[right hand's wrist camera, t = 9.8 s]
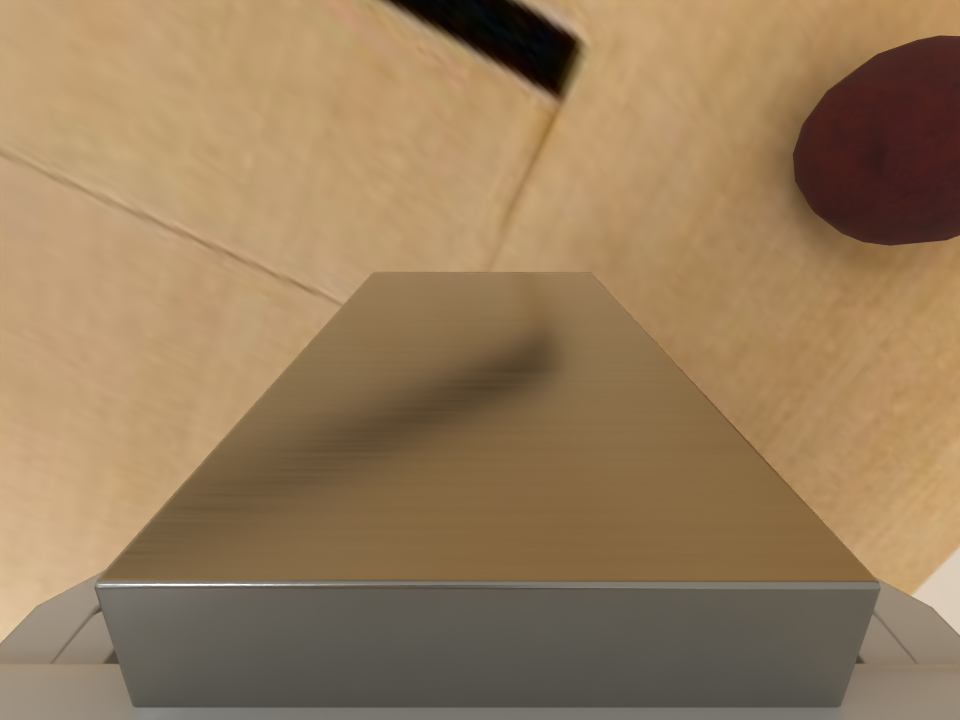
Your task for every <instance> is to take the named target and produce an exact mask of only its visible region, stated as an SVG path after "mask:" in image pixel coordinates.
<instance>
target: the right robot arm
mask: <svg viewBox="0 0 960 720" xmlns="http://www.w3.org/2000/svg"><path fill="white" fill-rule="evenodd" d="M103 572H104V571H103ZM103 572H101V573H99V574H97V575H95V576H93V577H91V578H89V579H88V580H86V581H84V582H82V583H80V584H78V585H76V586H74V587H72V588H71V589H69V590H67V591H65V592H63V593H61V594H59V595H57V596H55V597H53V598H52V599H50V600H48V601H46V602H44V603H42V604H40V605H38V606H36V608H35V609H34V610H33V611H32V612H31V613H30V614H29V615H28V616H27V617H26V618H25V619H24V620H23V621H22V622H21V623H20V624H19V625H18V626H17V627H16V628H15V629H14V630H13V631H12V632H11V633H10V634H9V635H8V636H7V637H6V638H5V639H4V640H3V641H2V642H1V643H0V720H960V635H959V634H958V633H957V632H956V631H955V630H954V629H953V628H952V627H951V626H950V625H949V624H948V623H947V622H946V621H945V620H944V619H943V618H942V617H941V616H940V615H939V614H938V613H937V612H936V611H935V610H934V609H933V608H932V607H931V606H929V605H927V604H925V603H923V602H921V601H919V600H917V599H915V598H913V597H911V596H910V595H908V594H906V593H904V592H902V591H900V590H898V589H896V588H894V587H892V586H890V585H889V584H887V583H885V582H883V581H881V580H879V579H877V578H876V579H877V580H878V582H879V584H880V588H881V590H880V593H879V596H878V599H877V602H876V605H875V608H874V611H873V614H872V616H871V619H870V622H869V625H868V628H867V631H866V634H865V637H864V640H863V643H862V646H861V648H860V651H859V654H858V657H857V660H856V663H855V666H854V669H853V672H852V675H851V677H850V680H849V683H848V686H847V689H846V692H845V695H844V698H843V701H842V704H841V706H839V707H837V708H136V707H134V706H133V705H132V702H131V699H130V696H129V693H128V690H127V687H126V684H125V681H124V678H123V675H122V672H121V669H120V665H119V662H118V659H117V656H116V653H115V650H114V647H113V644H112V641H111V638H110V635H109V632H108V628H107V625H106V622H105V619H104V616H103V613H102V610H101V607H100V604H99V601H98V598H97V595H96V592H95V583H96V580H97V579H98V578H99V577H100V576H101V575H102V574H103Z"/></svg>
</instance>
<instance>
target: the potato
mask: <svg viewBox="0 0 960 720" xmlns="http://www.w3.org/2000/svg"><path fill="white" fill-rule="evenodd" d="M793 158H794V171H795V181H796V183H797V185H798V186H799V188H800V190H801V192H802V193H803V195H804V197H805V199H806V200H807V202H808V204H809V205H810V207H811V208H812V209H813V211H814V212H815V213H816V214H817V215H818V216H820V217H821V218H822V219H824V220H825V221H826V222H828V223H829V224H830V225H832V226H833V227H834V228H836V229H837V230H838V231H840V232H841V233H843V234H845V235H848V236H850V237H852V238H855V239H857V240H860V241H862V242H867V243H875V244H882V245H900V244H911V243H921V242H932V241H942V240H948V239H951V238H953V237H956V236H959V235H960V36H935V37H930V38H925V39H920V40H916V41H913V42H910V43H908V44H905V45H902V46H899V47H896V48H894V49H891V50H888V51H885V52H882V53H879V54H877V55H876V56H874V57H873V58H871V59H870V60H868V61H867V62H866V63H864V64H863V65H861V66H860V67H859V68H857V69H856V70H855V71H853V72H852V73H851V74H849V75H848V76H847V77H845V78H844V79H843V80H841V81H840V82H839V83H837V84H836V85H835V86H833V87H832V88H831V89H829V90H828V91H827V92H826V94H825V95H824V96H823V98H822V99H821V100H820V102H819V103H818V104H817V106H816V107H815V109H814V110H813V111H812V113H811V114H810V115H809V117H808V118H807V119H806V121H805V122H804V124H803V126H802V128H801V131H800V135H799V138H798V141H797V144H796V147H795V150H794V153H793Z"/></svg>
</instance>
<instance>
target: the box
mask: <svg viewBox="0 0 960 720" xmlns="http://www.w3.org/2000/svg"><path fill="white" fill-rule="evenodd" d="M880 590H881V588H880V584H879V582H878V580H877V579H876V578H875V577H874V576H873V575H872V574H871V573H870V572H869V571H868V570H867V569H866V568H865V566H864V565H863V564H862V563H861V562H860V561H859V560H858V559H857V558H856V557H855V556H854V555H853V554H852V553H851V551H850V550H849V549H848V548H847V547H846V546H845V545H844V544H843V543H842V542H841V541H840V540H839V539H838V537H837V536H836V535H835V534H834V533H833V532H832V531H831V530H830V529H829V528H828V527H827V526H826V525H825V524H824V522H823V521H822V520H821V519H820V518H819V517H818V516H817V515H816V514H815V513H814V512H813V511H812V510H811V508H810V507H809V506H808V505H807V504H806V503H805V502H804V501H803V500H802V499H801V498H800V497H799V496H798V495H797V493H796V492H795V491H794V490H793V489H792V488H791V487H790V486H789V485H788V484H787V483H786V482H785V481H784V479H783V478H782V477H781V476H780V475H779V474H778V473H777V472H776V471H775V470H774V469H773V468H772V467H771V466H770V464H769V463H768V462H767V461H766V460H765V459H764V458H763V457H762V456H761V455H760V454H759V453H758V452H757V450H756V449H755V448H754V447H753V446H752V445H751V444H750V443H749V442H748V441H747V440H746V439H745V438H744V437H743V435H742V434H741V433H740V432H739V431H738V430H737V429H736V428H735V427H734V426H733V425H732V424H731V423H730V421H729V420H728V419H727V418H726V417H725V416H724V415H723V414H722V413H721V412H720V411H719V410H718V409H717V407H716V406H715V405H714V404H713V403H712V402H711V401H710V400H709V399H708V398H707V397H706V396H705V395H704V394H703V392H702V391H701V390H700V389H699V388H698V387H697V386H696V385H695V384H694V383H693V382H692V381H691V380H690V378H689V377H688V376H687V375H686V374H685V373H684V372H683V371H682V370H681V369H680V368H679V367H678V366H677V365H676V363H675V362H674V361H673V360H672V359H671V358H670V357H669V356H668V355H667V354H666V353H665V352H664V351H663V349H662V348H661V347H660V346H659V345H658V344H657V343H656V342H655V341H654V340H653V339H652V338H651V337H650V336H649V334H648V333H647V332H646V331H645V330H644V329H643V328H642V327H641V326H640V325H639V324H638V323H637V322H636V320H635V319H634V318H633V317H632V316H631V315H630V314H629V313H628V312H627V311H626V310H625V309H624V308H623V307H622V305H621V304H620V303H619V302H618V301H617V300H616V299H615V298H614V297H613V296H612V295H611V294H610V293H609V291H608V290H607V289H606V288H605V287H604V286H603V285H602V284H601V283H600V282H599V281H598V280H597V279H596V277H595V276H594V275H593V274H592V273H590V272H373V273H372V274H371V275H370V276H369V277H368V279H367V280H366V281H365V282H364V283H363V284H362V285H361V286H360V287H359V289H358V290H357V291H356V292H355V293H354V294H353V295H352V296H351V297H350V299H349V300H348V301H347V302H346V303H345V304H344V305H343V306H342V307H341V309H340V310H339V311H338V312H337V313H336V314H335V315H334V316H333V317H332V319H331V320H330V321H329V322H328V323H327V324H326V325H325V326H324V328H323V329H322V330H321V331H320V332H319V333H318V334H317V335H316V336H315V338H314V339H313V340H312V341H311V342H310V343H309V344H308V345H307V346H306V348H305V349H304V350H303V351H302V352H301V353H300V354H299V355H298V356H297V358H296V359H295V360H294V361H293V362H292V363H291V364H290V365H289V366H288V368H287V369H286V370H285V371H284V372H283V373H282V374H281V375H280V376H279V378H278V379H277V380H276V381H275V382H274V383H273V384H272V385H271V387H270V388H269V389H268V390H267V391H266V392H265V393H264V394H263V395H262V397H261V398H260V399H259V400H258V401H257V402H256V403H255V404H254V405H253V407H252V408H251V409H250V410H249V411H248V412H247V413H246V414H245V415H244V417H243V418H242V419H241V420H240V421H239V422H238V423H237V424H236V425H235V427H234V428H233V429H232V430H231V431H230V432H229V433H228V434H227V436H226V437H225V438H224V439H223V440H222V441H221V442H220V443H219V444H218V446H217V447H216V448H215V449H214V450H213V451H212V452H211V453H210V454H209V456H208V457H207V458H206V459H205V460H204V461H203V462H202V463H201V464H200V466H199V467H198V468H197V469H196V470H195V471H194V472H193V473H192V474H191V476H190V477H189V478H188V479H187V480H186V481H185V482H184V483H183V484H182V486H181V487H180V488H179V489H178V490H177V491H176V492H175V493H174V495H173V496H172V497H171V498H170V499H169V500H168V501H167V502H166V503H165V505H164V506H163V507H162V508H161V509H160V510H159V511H158V512H157V513H156V515H155V516H154V517H153V518H152V519H151V520H150V521H149V522H148V523H147V525H146V526H145V527H144V528H143V529H142V530H141V531H140V532H139V533H138V535H137V536H136V537H135V538H134V539H133V540H132V541H131V542H130V543H129V545H128V546H127V547H126V548H125V549H124V550H123V551H122V552H121V554H120V555H119V556H118V557H117V558H116V559H115V560H114V561H113V562H112V564H111V565H110V566H109V567H108V568H107V569H106V570H105V571H104V572H103V574H102V575H101V576H100V577H99V578H98V579H97V580H96V583H95V592H96V595H97V598H98V601H99V604H100V607H101V610H102V613H103V616H104V619H105V622H106V625H107V628H108V632H109V635H110V638H111V641H112V644H113V647H114V650H115V653H116V656H117V659H118V662H119V665H120V669H121V672H122V675H123V678H124V681H125V684H126V687H127V690H128V693H129V696H130V699H131V702H132V705H133V706H134V707H136V708H837V707H839V706H841V704H842V701H843V698H844V695H845V692H846V689H847V686H848V683H849V680H850V677H851V675H852V672H853V669H854V666H855V663H856V660H857V657H858V654H859V651H860V648H861V646H862V643H863V640H864V637H865V634H866V631H867V628H868V625H869V622H870V619H871V616H872V614H873V611H874V608H875V605H876V602H877V599H878V596H879V593H880Z"/></svg>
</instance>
